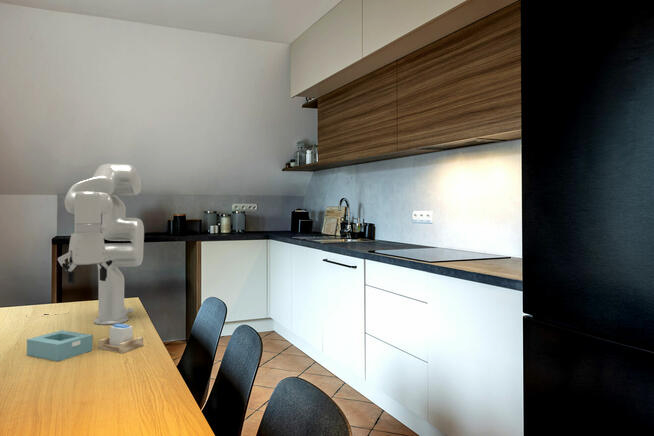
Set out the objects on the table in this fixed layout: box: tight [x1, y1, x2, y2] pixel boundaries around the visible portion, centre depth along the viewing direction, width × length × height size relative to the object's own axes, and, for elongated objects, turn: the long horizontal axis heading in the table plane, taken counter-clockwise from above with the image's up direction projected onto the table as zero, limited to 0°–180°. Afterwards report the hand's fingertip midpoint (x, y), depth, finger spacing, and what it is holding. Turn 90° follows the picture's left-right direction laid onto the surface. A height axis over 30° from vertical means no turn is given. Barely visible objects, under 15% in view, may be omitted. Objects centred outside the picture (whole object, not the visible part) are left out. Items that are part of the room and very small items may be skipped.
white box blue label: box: [108, 323, 134, 346], centre depth 153 cm, size 4×6×8 cm, turn 67°
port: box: [26, 329, 93, 362], centre depth 147 cm, size 12×14×5 cm
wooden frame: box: [98, 336, 144, 354], centre depth 153 cm, size 9×10×3 cm
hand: (87, 282), depth 151 cm, fingers open, 9 cm apart
